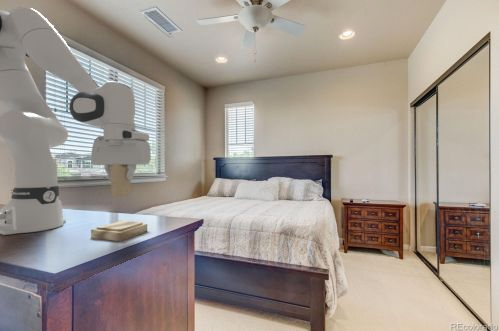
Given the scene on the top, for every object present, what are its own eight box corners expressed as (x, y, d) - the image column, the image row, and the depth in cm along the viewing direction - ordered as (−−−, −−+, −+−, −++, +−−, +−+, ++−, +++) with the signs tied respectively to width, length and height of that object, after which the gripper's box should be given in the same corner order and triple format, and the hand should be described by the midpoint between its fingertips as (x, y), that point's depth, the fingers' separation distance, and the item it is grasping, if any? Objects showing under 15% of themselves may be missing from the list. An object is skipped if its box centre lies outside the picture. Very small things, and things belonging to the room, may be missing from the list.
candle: (118, 193, 81) (117, 162, 80) (134, 193, 80) (133, 162, 80) (107, 196, 75) (106, 163, 75) (124, 196, 75) (123, 162, 74)
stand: (91, 237, 74) (90, 227, 74) (120, 228, 84) (120, 219, 84) (120, 241, 71) (120, 230, 71) (147, 231, 81) (147, 222, 81)
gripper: (85, 135, 77) (85, 179, 78) (138, 132, 71) (139, 180, 71) (102, 137, 83) (103, 178, 84) (153, 134, 77) (154, 179, 77)
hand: (120, 179), depth 77 cm, fingers closed on candle, 5 cm apart
